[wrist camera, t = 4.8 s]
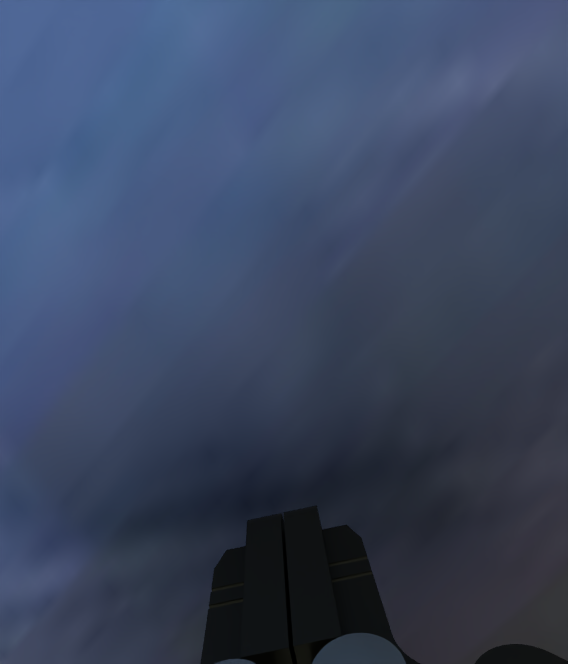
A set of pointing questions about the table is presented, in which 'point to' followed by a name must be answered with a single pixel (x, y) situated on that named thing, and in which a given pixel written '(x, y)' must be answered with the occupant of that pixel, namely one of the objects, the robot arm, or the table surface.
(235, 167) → the table surface
